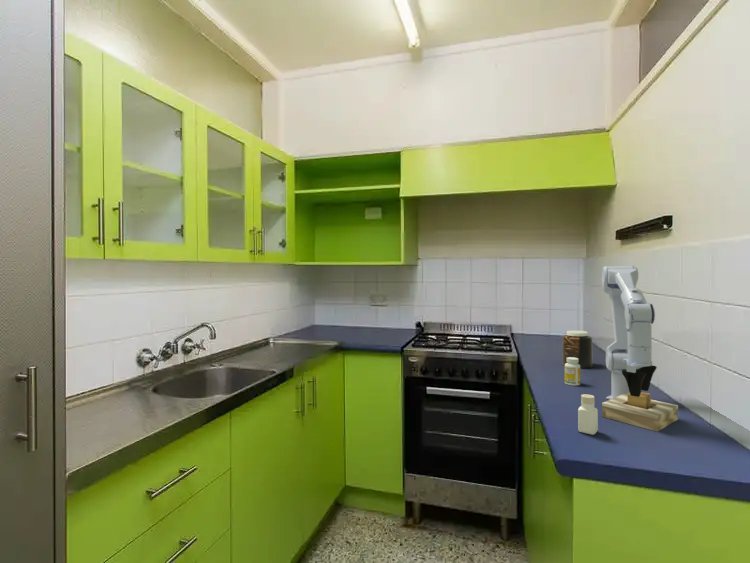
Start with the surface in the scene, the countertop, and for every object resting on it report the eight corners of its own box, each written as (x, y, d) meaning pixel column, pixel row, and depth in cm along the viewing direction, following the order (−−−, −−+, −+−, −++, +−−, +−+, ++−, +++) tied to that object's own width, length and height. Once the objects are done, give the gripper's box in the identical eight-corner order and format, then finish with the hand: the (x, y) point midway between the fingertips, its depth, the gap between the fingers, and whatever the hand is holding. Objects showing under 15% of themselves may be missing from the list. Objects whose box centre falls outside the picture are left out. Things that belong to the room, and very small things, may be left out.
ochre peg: (632, 414, 119) (632, 390, 119) (650, 418, 116) (650, 393, 116) (627, 418, 116) (627, 393, 116) (645, 422, 113) (645, 397, 113)
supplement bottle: (569, 386, 149) (569, 360, 148) (561, 382, 154) (561, 357, 154) (583, 385, 149) (583, 359, 149) (575, 381, 155) (574, 356, 154)
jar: (585, 370, 171) (584, 334, 171) (557, 365, 180) (557, 331, 180) (597, 365, 179) (596, 331, 178) (570, 361, 188) (570, 329, 187)
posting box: (624, 406, 126) (624, 393, 126) (678, 419, 115) (678, 405, 114) (602, 416, 118) (602, 402, 118) (657, 431, 106) (657, 416, 106)
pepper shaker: (598, 431, 107) (598, 395, 107) (594, 436, 104) (594, 399, 104) (581, 427, 110) (581, 392, 110) (577, 432, 107) (577, 396, 107)
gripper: (632, 340, 123) (632, 385, 124) (614, 347, 114) (614, 395, 114) (659, 343, 118) (659, 389, 118) (643, 350, 109) (643, 401, 109)
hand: (639, 393), depth 116 cm, fingers open, 7 cm apart
